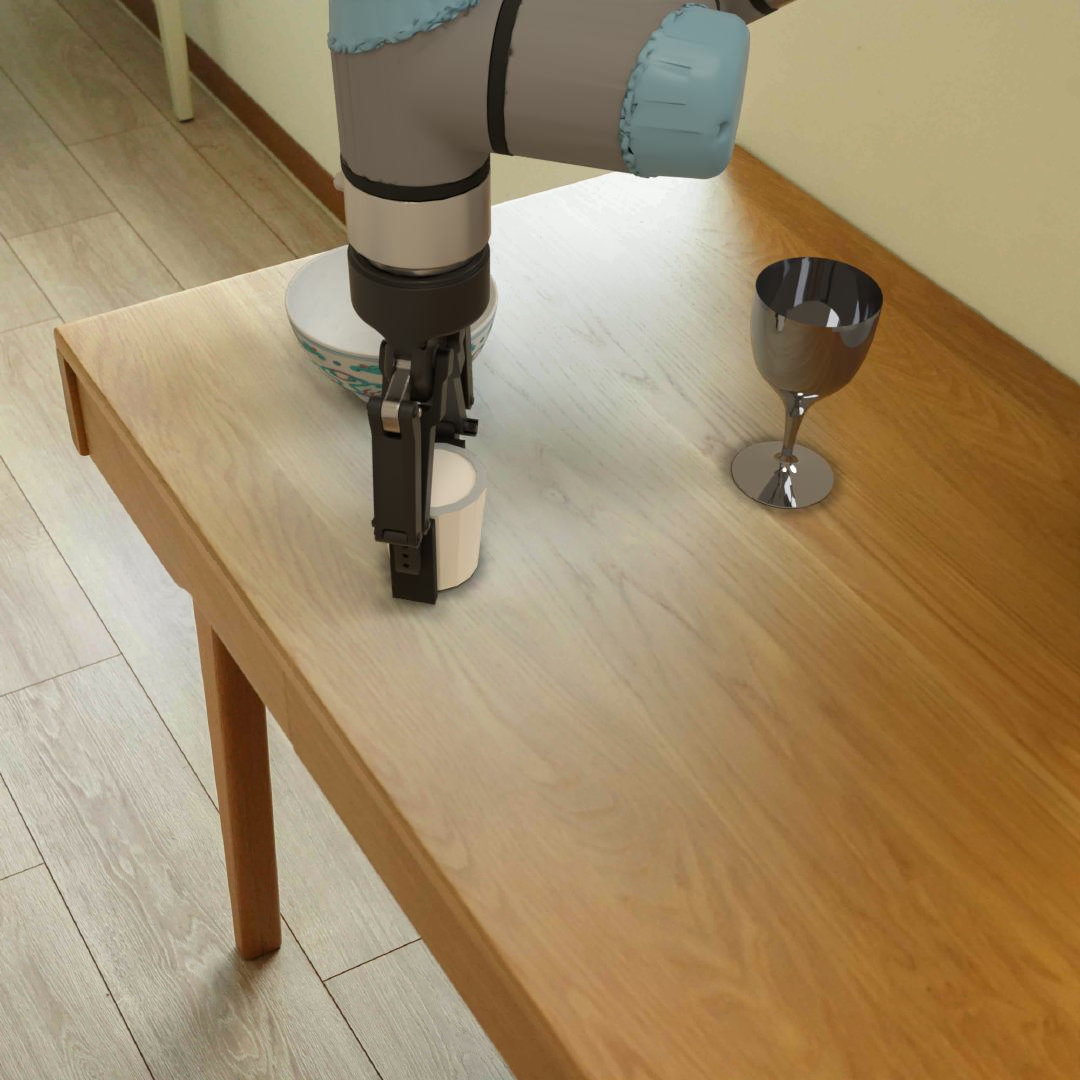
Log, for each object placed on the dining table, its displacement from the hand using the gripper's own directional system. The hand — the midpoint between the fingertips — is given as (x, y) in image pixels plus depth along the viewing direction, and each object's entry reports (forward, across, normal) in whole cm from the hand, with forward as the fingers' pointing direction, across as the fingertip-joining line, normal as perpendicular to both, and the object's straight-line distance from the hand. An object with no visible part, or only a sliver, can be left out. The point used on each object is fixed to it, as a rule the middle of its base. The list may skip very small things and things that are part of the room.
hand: (430, 555), depth 86 cm
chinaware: (+1, -18, -7) cm, 20 cm away
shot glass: (0, 0, 0) cm, 1 cm away
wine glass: (+1, -14, +22) cm, 26 cm away
